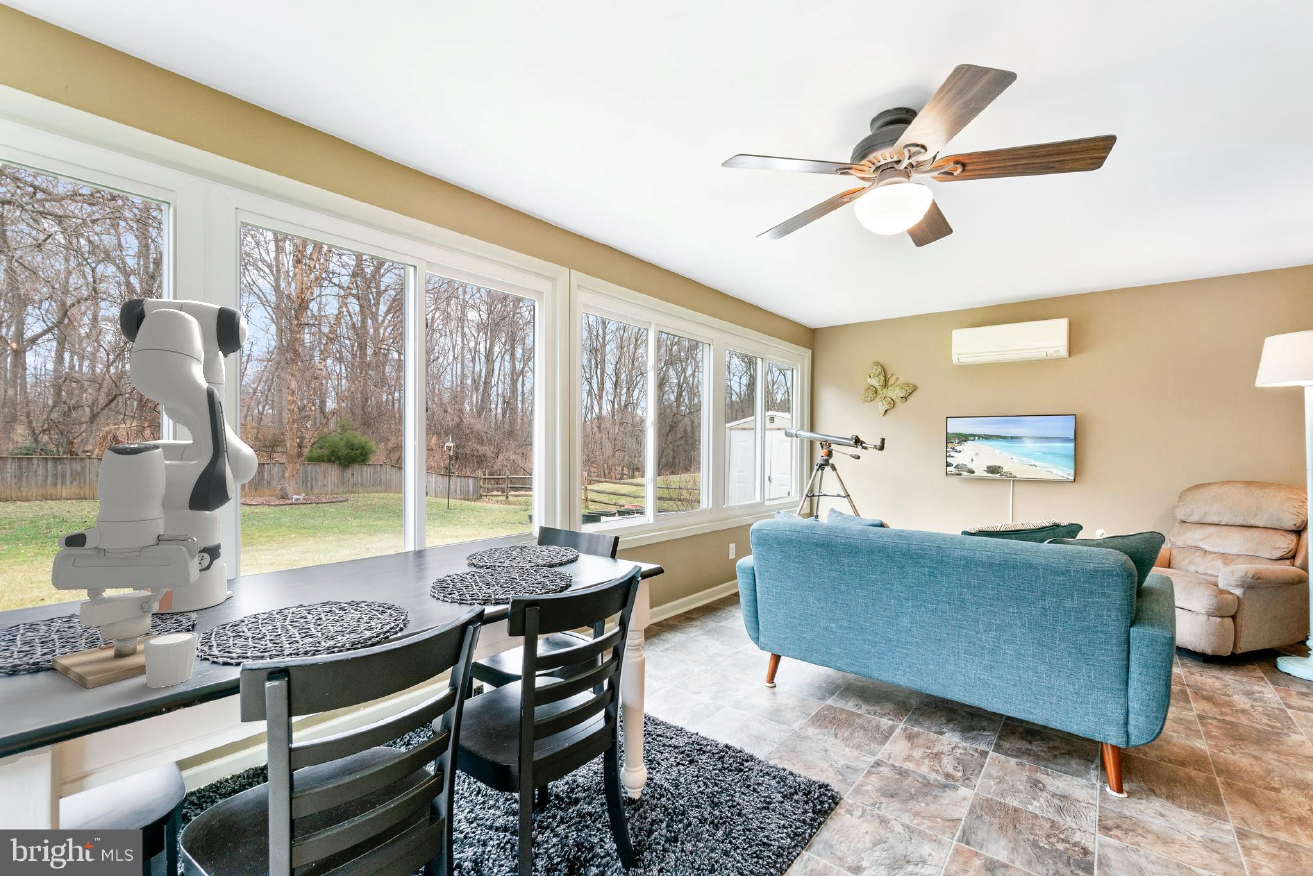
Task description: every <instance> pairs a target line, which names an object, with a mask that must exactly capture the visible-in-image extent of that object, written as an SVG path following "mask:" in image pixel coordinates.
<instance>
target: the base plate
mask: <svg viewBox="0 0 1313 876" xmlns="http://www.w3.org/2000/svg"><path fill="white" fill-rule="evenodd" d="M157 636H159V635H158V634H150V635H147V636H141V637H138V641H137V653H136V654H135V655H132V656H128V657H123V658H115V657H114V642H113V643H110V644H104V645H100V646H98V647H94V648H89V649H85V650H80V651H77V652H71V653H67V654H62V655H59V656H53V657H52V658H51V666H52V665H53V667H52V668H54V669H55V670H57V671H58V672H60V673H62V674H63V675H65V676H66V677H68V678H70V679H72V680H74V681H75V682H76V683H78V684H80V685H81V686H83V687H84V688H86V689H87V690H89V689H93V688H96V687H99V686H102V685H106V684H110V683H115V682H118V681H122V680H126V679H128V678H133V677H136V676H140V675H144V674H146V665H145V653H144V642H145V641H147V640H149V639H151V638H153V637H157Z"/></svg>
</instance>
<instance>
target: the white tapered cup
mask: <svg viewBox="0 0 1313 876" xmlns="http://www.w3.org/2000/svg"><path fill="white" fill-rule="evenodd" d="M198 640H199V634H198V633H197V632H193V631H179V632H172V633H167V634H161V635H158V636H157V637H153V638H151V639H149V640H147V641H145V642H144V653H145V665H146V673H145V675H146V677H145V678H146V685H147V687H148V686H150V687H149V688H152V687H161V688H163V687H162V686H169V687H171V686H170V685H173V686H176V684H177V685H179V684H178V683H180V684H182V683H181V682H183V681H186V680H187V681H189V680H191V678H192V677H193V674H194V667H195V660H196V655H197V654H196V653H197V649H198V648H197V647H198V642H199V641H198ZM188 679H189V680H188ZM187 681H186V682H187ZM183 683H184V682H183Z"/></svg>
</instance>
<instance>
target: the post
mask: <svg viewBox="0 0 1313 876" xmlns="http://www.w3.org/2000/svg"><path fill="white" fill-rule="evenodd" d="M138 638H139V636H135V637H130V638H123V639H113V643H114V657H115V658H123V657H128V656H132V655H135V654H136V653H137V641H138Z"/></svg>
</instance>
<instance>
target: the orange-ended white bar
mask: <svg viewBox="0 0 1313 876" xmlns="http://www.w3.org/2000/svg"><path fill="white" fill-rule="evenodd" d="M154 594H155V593H154ZM154 594H151V589H147V590H143V591H133V592H131V593H130V592H129V593H125V594H124V593H123V594H120V595H115V596H109V597H105V598H103V599H98V600H93V601H91V600H90V601H85V602H80V610H79V625H83V626H88V627H91V628H96V627H100V626H101V627H100V639H103V640H114V639H123V638H130V637H135V636H138V637H139V636H141V635H144V634H145V635H146V634H147V633H149V632H151V631H152V614H159V613H158V612H162V611H166V610H170V609H172V596H173V590H171V589H167V591H166V593H165V594H164V595H163V597H162V598H161V599H160V600H159V609H158V611H156V612H154V613H144V612H143V609H144V608H143V603H145V602H148V601H150V600H151V599H152V597H153V596H154Z"/></svg>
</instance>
